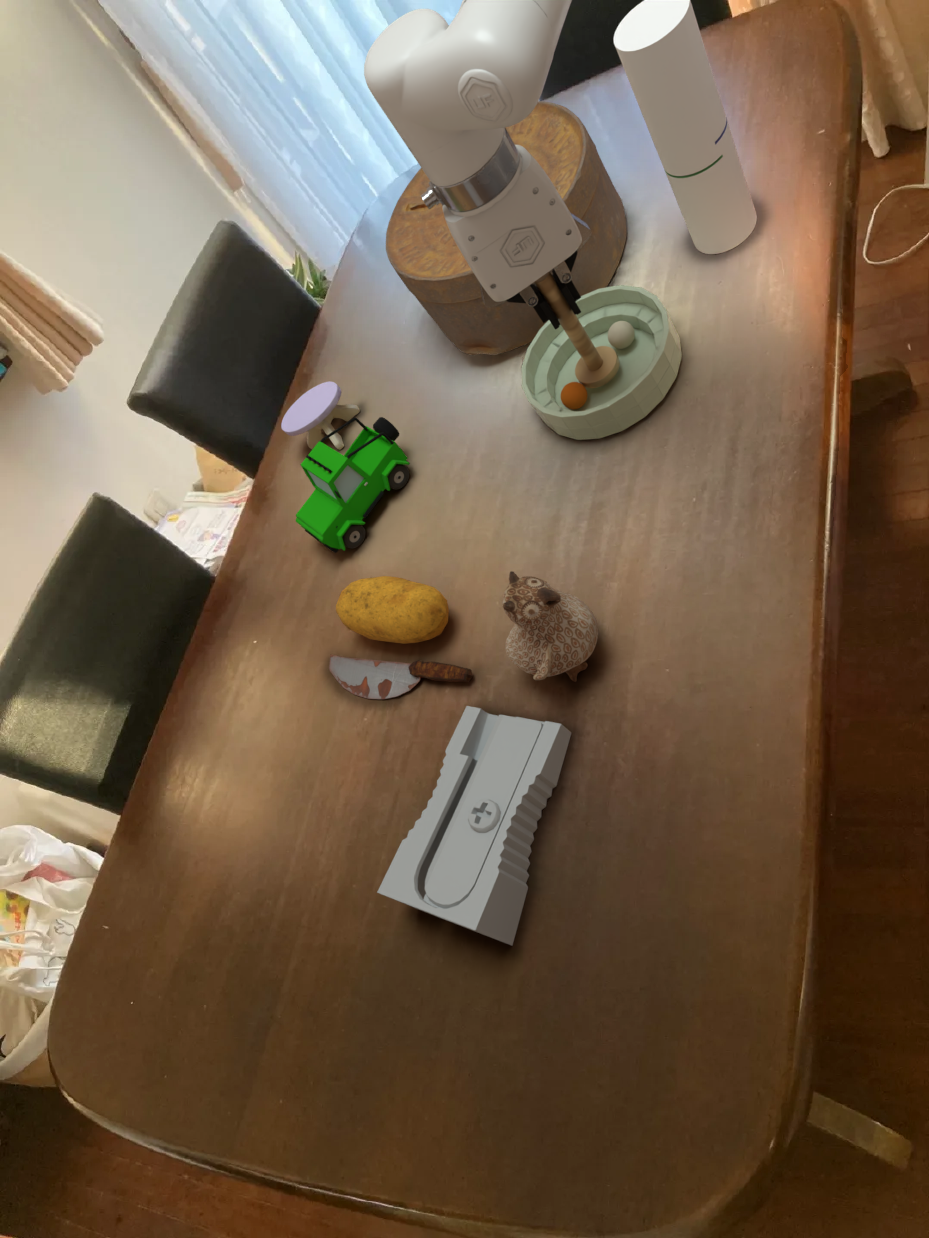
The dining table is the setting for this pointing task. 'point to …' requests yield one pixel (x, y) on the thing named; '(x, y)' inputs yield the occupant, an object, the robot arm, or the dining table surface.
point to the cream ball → (621, 334)
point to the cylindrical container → (687, 121)
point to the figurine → (547, 628)
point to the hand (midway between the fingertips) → (563, 312)
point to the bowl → (638, 377)
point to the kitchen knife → (390, 675)
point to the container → (445, 275)
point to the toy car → (350, 484)
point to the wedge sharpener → (480, 824)
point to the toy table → (318, 414)
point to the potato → (393, 609)
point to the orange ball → (573, 395)
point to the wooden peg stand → (580, 339)
